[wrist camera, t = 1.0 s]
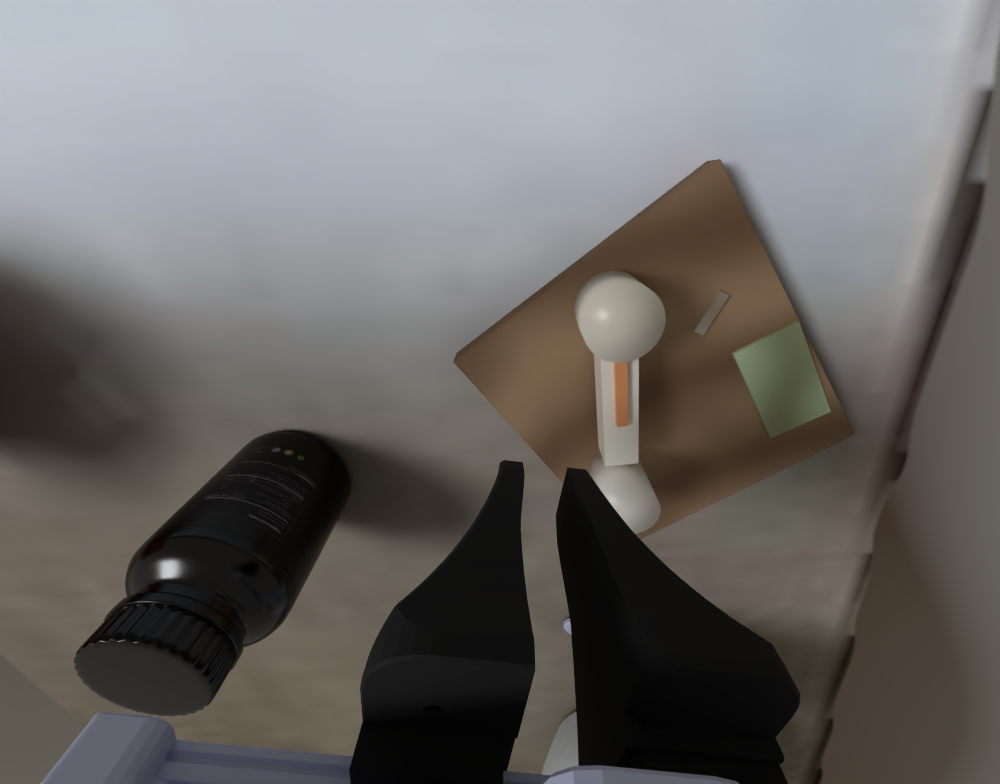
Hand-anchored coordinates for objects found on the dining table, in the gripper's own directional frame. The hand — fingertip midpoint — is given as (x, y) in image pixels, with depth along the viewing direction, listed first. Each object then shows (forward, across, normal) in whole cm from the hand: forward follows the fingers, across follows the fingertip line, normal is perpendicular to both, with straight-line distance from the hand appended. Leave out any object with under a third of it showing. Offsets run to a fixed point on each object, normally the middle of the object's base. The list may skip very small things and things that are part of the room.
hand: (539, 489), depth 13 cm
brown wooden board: (+9, -7, 0) cm, 12 cm away
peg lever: (+8, -4, 0) cm, 9 cm away
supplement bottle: (+10, +13, +9) cm, 18 cm away
